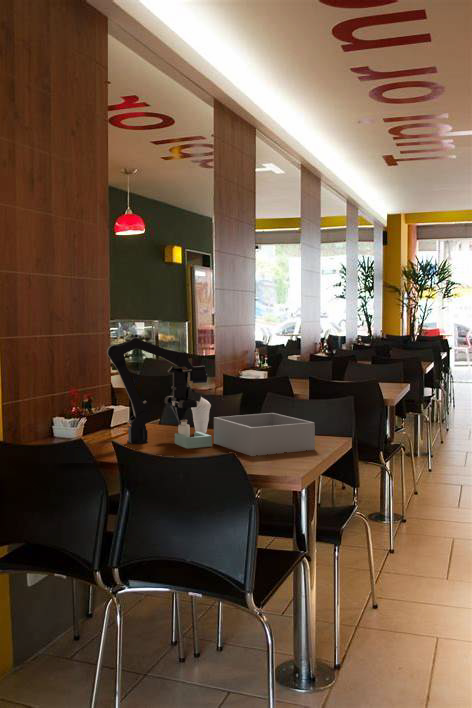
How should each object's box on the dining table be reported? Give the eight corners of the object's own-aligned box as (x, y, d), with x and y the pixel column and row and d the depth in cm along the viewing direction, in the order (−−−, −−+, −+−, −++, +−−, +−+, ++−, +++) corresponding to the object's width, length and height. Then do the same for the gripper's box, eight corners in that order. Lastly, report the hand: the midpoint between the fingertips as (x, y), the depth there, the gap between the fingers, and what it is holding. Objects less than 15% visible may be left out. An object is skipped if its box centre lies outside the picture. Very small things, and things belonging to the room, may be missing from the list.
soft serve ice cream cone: (212, 431, 305) (212, 393, 305) (209, 434, 297) (209, 395, 296) (192, 431, 306) (192, 393, 305) (189, 434, 298) (189, 395, 297)
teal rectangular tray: (187, 448, 266) (187, 438, 265) (174, 443, 276) (174, 433, 276) (211, 446, 270) (211, 435, 270) (198, 441, 281) (198, 431, 281)
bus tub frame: (251, 456, 250) (251, 428, 250) (213, 443, 277) (213, 417, 276) (314, 450, 262) (314, 422, 261) (272, 437, 289) (272, 412, 288)
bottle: (181, 443, 278) (180, 421, 277) (176, 441, 282) (176, 419, 281) (191, 442, 280) (191, 420, 279) (187, 440, 284) (186, 418, 283)
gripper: (209, 384, 278) (209, 425, 279) (189, 381, 295) (189, 419, 295) (182, 386, 273) (183, 427, 274) (163, 382, 289) (164, 421, 290)
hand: (180, 423), depth 283 cm, fingers closed
